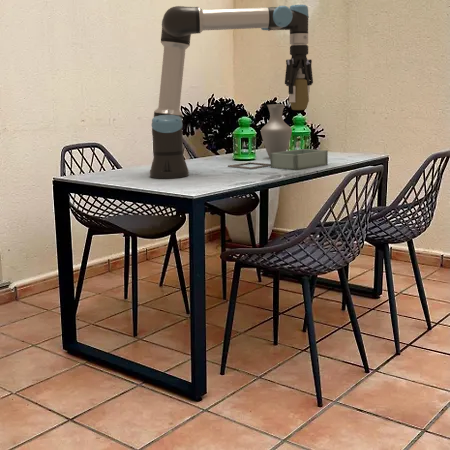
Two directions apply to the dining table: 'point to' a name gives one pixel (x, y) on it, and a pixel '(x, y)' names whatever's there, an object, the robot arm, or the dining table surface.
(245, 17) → the robot arm
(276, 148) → the vase
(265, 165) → the brown flat square frame
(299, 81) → the squeeze bottle
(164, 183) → the dining table surface
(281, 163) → the bin
